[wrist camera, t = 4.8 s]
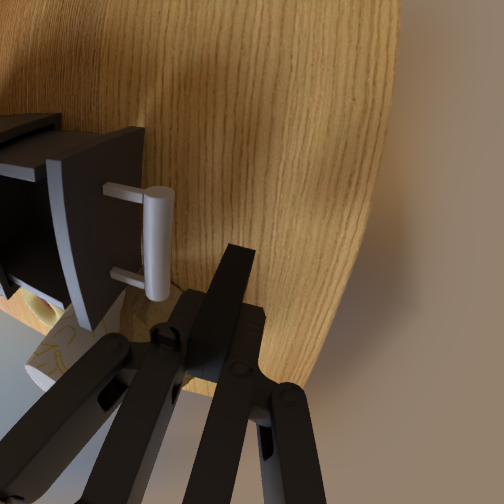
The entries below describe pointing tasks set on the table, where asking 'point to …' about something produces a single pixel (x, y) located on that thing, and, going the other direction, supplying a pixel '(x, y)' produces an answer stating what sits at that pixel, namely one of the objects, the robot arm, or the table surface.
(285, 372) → the table surface
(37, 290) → the drawer
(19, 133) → the cabinet
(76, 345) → the cup
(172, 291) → the rock
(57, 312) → the donut
